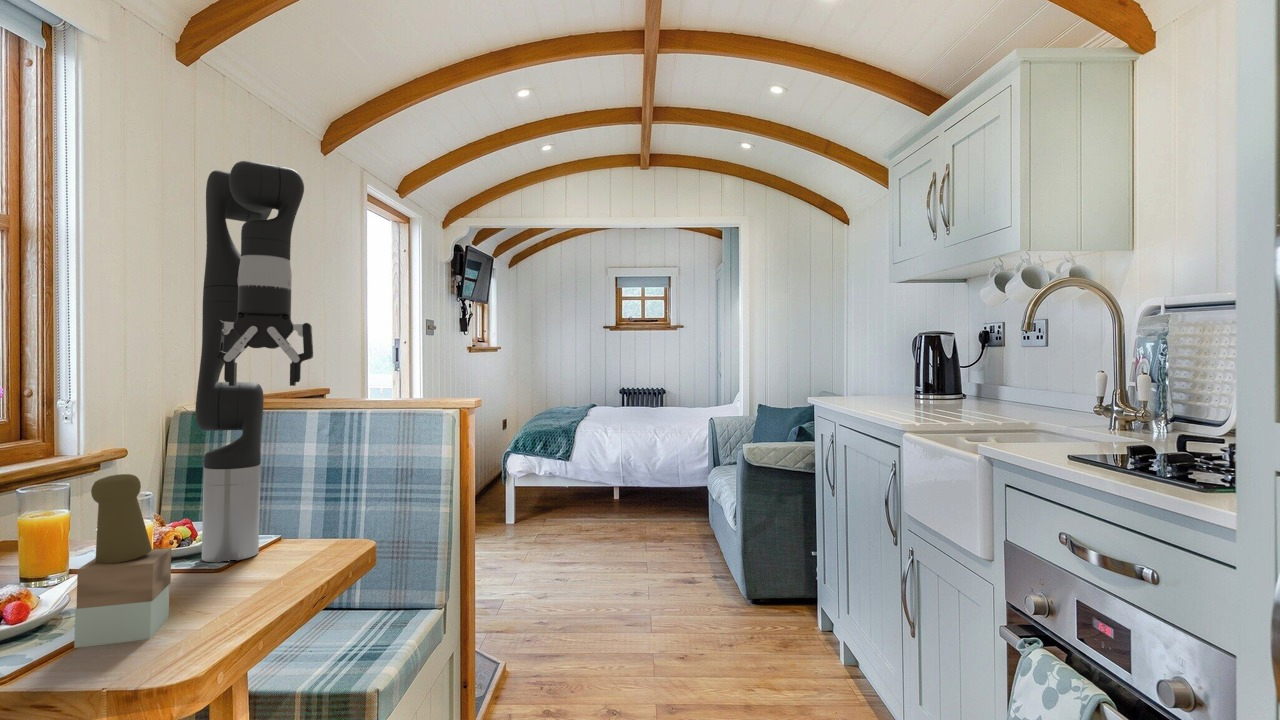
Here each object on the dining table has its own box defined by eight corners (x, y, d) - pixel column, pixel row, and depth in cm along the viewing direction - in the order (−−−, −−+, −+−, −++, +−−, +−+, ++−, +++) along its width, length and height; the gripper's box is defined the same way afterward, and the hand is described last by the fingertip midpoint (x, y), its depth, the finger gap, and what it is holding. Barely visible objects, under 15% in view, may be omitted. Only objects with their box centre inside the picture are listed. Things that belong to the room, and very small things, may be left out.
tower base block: (99, 625, 90) (100, 589, 90) (168, 618, 93) (169, 583, 93) (74, 648, 82) (75, 609, 82) (150, 639, 85) (151, 601, 85)
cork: (121, 564, 84) (111, 482, 83) (83, 563, 85) (73, 482, 84) (163, 547, 90) (154, 470, 89) (126, 546, 91) (117, 470, 90)
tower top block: (101, 589, 90) (102, 553, 90) (170, 582, 93) (171, 548, 93) (76, 608, 82) (77, 569, 82) (152, 601, 85) (153, 563, 85)
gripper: (315, 291, 111) (313, 385, 111) (219, 286, 106) (216, 385, 106) (312, 286, 104) (309, 386, 104) (208, 280, 99) (205, 386, 99)
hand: (263, 385), depth 105 cm, fingers open, 8 cm apart
